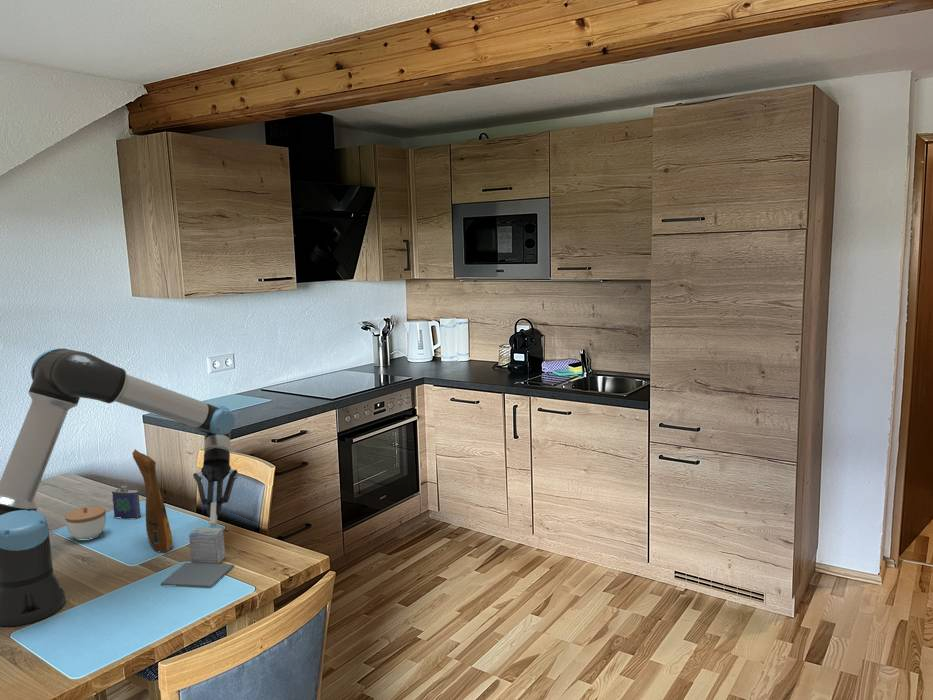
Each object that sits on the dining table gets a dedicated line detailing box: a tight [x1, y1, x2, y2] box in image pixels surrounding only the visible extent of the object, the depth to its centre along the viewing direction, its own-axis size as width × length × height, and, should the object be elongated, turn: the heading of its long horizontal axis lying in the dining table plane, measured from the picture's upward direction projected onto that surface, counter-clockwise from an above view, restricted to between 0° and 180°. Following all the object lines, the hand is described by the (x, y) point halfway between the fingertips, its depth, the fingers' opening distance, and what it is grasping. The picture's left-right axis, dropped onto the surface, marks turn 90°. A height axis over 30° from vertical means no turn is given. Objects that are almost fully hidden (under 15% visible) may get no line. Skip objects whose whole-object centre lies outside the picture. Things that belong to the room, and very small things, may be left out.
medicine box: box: [188, 527, 226, 564], centre depth 192 cm, size 8×4×9 cm, turn 84°
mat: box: [160, 561, 235, 588], centre depth 183 cm, size 12×14×1 cm
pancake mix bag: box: [132, 448, 173, 553], centre depth 203 cm, size 7×19×28 cm, turn 34°
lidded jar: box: [65, 506, 107, 540], centre depth 211 cm, size 11×11×9 cm
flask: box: [111, 484, 142, 519], centre depth 226 cm, size 9×3×11 cm, turn 79°
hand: (213, 525), depth 200 cm, fingers closed
